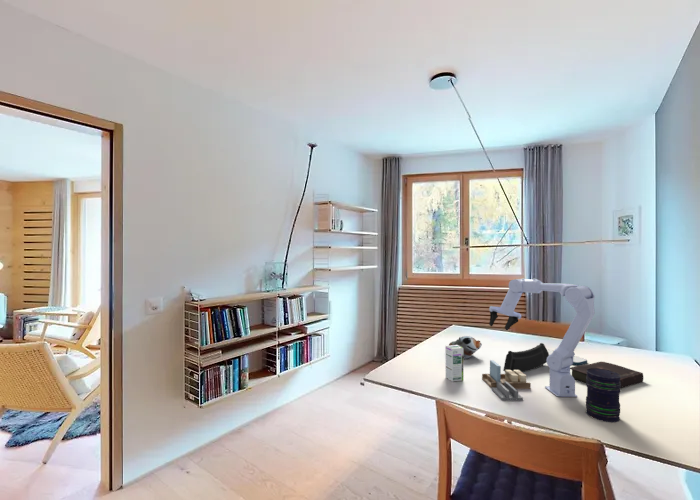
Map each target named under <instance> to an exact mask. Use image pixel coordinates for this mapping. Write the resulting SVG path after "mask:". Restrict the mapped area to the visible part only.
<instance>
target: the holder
mask: <svg viewBox="0 0 700 500" xmlns="http://www.w3.org/2000/svg"><path fill="white" fill-rule="evenodd" d="M491 390H492V392H493V393H495V395H496V396H497V397H498V398H499V399H500V400H501V401H524V397H523V396H521V395H520V394H519V391H518V390H517V389H515V388H514V387H513V386H511V385H510V384H509V383H508V382H504V386H503V385H502V384H501V383H500V382H499V381H497V388H491Z"/></svg>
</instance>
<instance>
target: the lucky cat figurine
mask: <svg viewBox="0 0 700 500" xmlns="http://www.w3.org/2000/svg"><path fill="white" fill-rule="evenodd" d="M450 345H459V346H461V347H463V359H464V358H465V360H466V359H469V358H471V357H472V356H473V355H474V354H475V353H476V352H477V351H478V350H480V349H481V348H482V345H483V344H482V342H481V340H477V339H475V337H473V336H470V335H469V336H468V335H464V336H459V338H458V339H456V340H455V341H451V342H449V344H447V346H450Z"/></svg>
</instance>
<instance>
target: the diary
mask: <svg viewBox="0 0 700 500" xmlns="http://www.w3.org/2000/svg"><path fill="white" fill-rule="evenodd" d="M590 368H598V369H605V370H610V371H613V372H616V373H618V374H619V375H620V383H621V387H620V389H624V388H628V387H630V386H633V385H636V384H639V383H640V382H641V383H643V382H644V373H643V372H642V371H641V372H640V371H637V370H634V369H630V368H627V367H624V366H622V365H618V364H615V363H610V362H607V361H598V362H593V363H588V364H583V365H574V366H570V371H571V375H572V376H573V378H574V379H575V382H576V381H577V382H580V383H583V384H586V377H587V369H590ZM641 383H640V384H641Z"/></svg>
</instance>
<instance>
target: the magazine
mask: <svg viewBox="0 0 700 500" xmlns="http://www.w3.org/2000/svg"><path fill="white" fill-rule="evenodd" d="M547 349H548V348H546V345H545V344H544V343H542V342H541V343H539V344H538V345H536V346H534V347H532V348H529V349H526V350H520V351H512V350H508V352H507V354H506V356H505V359H504V366H503V369H502V370H503V371H504V372H505V370H512V371H513V370H520V371H521V372H522V373H523V372H530V371H531V370H535V369H537V368H539V367H541V366H544V365H546V364H547V362H546V360H547V357H548V356H549V353H548V351H547Z"/></svg>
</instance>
